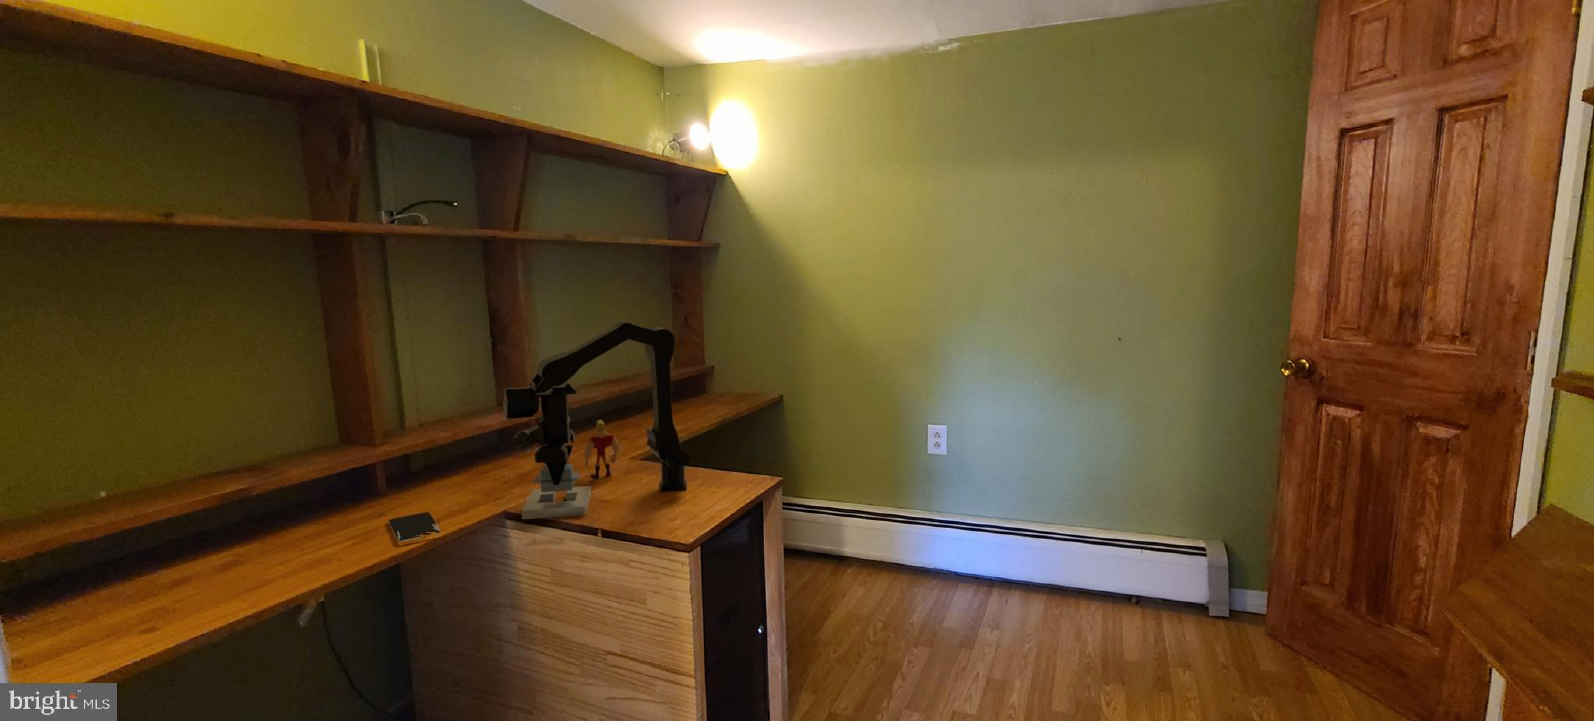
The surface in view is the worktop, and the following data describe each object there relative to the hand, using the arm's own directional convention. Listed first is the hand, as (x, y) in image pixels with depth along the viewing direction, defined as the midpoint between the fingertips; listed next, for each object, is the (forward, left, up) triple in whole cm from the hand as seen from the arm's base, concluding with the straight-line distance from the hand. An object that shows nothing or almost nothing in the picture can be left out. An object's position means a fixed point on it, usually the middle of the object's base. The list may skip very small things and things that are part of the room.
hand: (557, 481), depth 152 cm
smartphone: (+9, -27, -6) cm, 29 cm away
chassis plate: (0, 0, -6) cm, 6 cm away
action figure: (-21, +8, -6) cm, 23 cm away
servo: (-2, 0, -1) cm, 2 cm away
